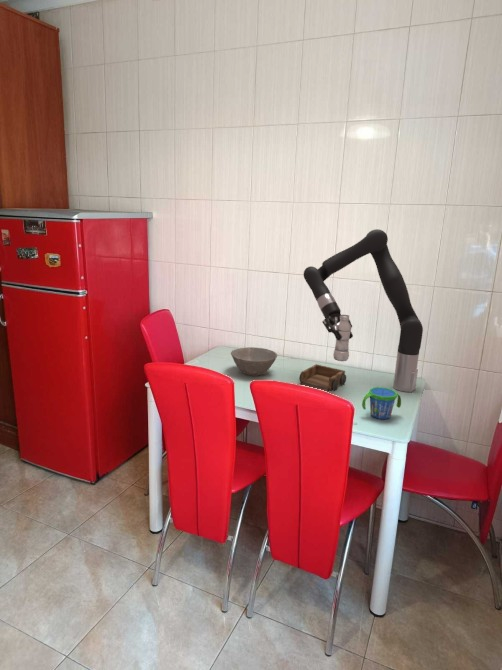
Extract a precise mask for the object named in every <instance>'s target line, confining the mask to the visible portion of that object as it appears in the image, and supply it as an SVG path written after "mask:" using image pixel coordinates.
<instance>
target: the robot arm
mask: <svg viewBox="0 0 502 670" xmlns="http://www.w3.org/2000/svg"><path fill="white" fill-rule="evenodd" d="M388 239H389V238H388V235H387V233H386V232H385V231H384V230H382V229H375V228H374V229H372V230H370V231H369V232H368V233H367V234H366V235H365V236H364V237H363V238H362V239H360V240H359V241H357V242H356V243H355V244H353V245H352V246H349V247H348V248H346V249H343V250H342V251H340V252H338V253H335V254H333V255H332V256H330V257H329V258H327V259H325V260H324V261H322V263H321V266H320V267H319V268H317V267H315V266H313V265H312V266H308V267H306V268H305V269H304V271H303V278H304V280H305V282H306V283H307V286H308V287H309V289H310V290H311V292H312V294H313V297H314V299H315V301H316V302H317V305H318V307H319V309H320V312H321V313H322V316H323V317H324V319H323V320H322V324H323V326H324V327H325V329H326V331H327V332H328V333H331V334H333V335H334V337H335V340H336V339H337V340H338V341H339V340H341V339H342V337H341V335H340V333H339V331H337V324H338V323H339V322H340V316H341V315H342V311H341V308H340V307H339V304H338V303H337V301H336V299H335V298H334V296H333V294H332V293H331V291H330V290H329V288H328V286H327V285H326V283H325V281H326V280H327V279H329V277H330V276H332V275H334V274H335V273H337V272H339V271H340V270H343V269H344V268H346V267H347V266H349V265H351V264H352V263H354V262H356V261H357V260H359V259H361V258H362V257H364V256H366V255H369V254H370V255H371V257H372V259H373V261H374V263H375V266H376V270H377V273H378V276H379V279H380V283H381V285H382V287H383V290H384V293H385V295H386V296H387V299H388V301H389V302H390V303H391V305H392V307H393V308H394V311H395V313H396V315H397V318H398V323H399V328H400V333H399V338H398V339H399V341H398V346H397V352H396V353H397V355H396V361H395V368H394V369H395V370H394V376H393V377H394V378H393V387H392V388H393V389H395V390H397V391H400V392H407V393H413V392H414V391H415V389H416V386H417V379H418V373H419V372H418V371H419V369H418V361H419V355H420V349H421V346H422V339H423V332H424V327H423V325H422V321H421V320H420V318H419V317H418V316H417V313H416V311H415V309H414V307H413V306H412V303H411V298H410V294H409V291H408V288H407V284H406V282H405V279H404V276H403V275H402V273H401V270H400V269H399V268H398V265H397V264H396V262H395V261H394V259H393V258H392V255H391V253H390V250H389V247H388V242H389V240H388ZM348 322H349V323H350V325H351V329H352V328H353V325H352V323H351V320H350V319H349V320H348ZM353 337H354V335H353V333H352V331H351V333H350V337H349V340H350V339H352V338H353Z"/></svg>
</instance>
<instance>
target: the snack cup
mask: <svg viewBox="0 0 502 670" xmlns="http://www.w3.org/2000/svg"><path fill="white" fill-rule="evenodd" d="M368 398H369V406H370V407H369V409H370V415H371V416H372V417H373V418H376V419H377V418H378V419H377V420H387V419H390V418H391V415H392V412H393V409H394V405H395V402H396V407H397V408H401V407H402V397H401V395H400V393H397V392H396V391H395V390H394V389H391V388H388V387H383V386H382V387H379V386H377V387H371V388H370V389H369V390H368V393H366V394H365V395H364V397H363V398H362V401H361V402H362V403H361V406H362V409H363V410H366V409H367V408H366V401H367V400H368ZM396 399H397V401H396Z"/></svg>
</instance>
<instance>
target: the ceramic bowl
mask: <svg viewBox="0 0 502 670" xmlns="http://www.w3.org/2000/svg"><path fill="white" fill-rule="evenodd" d="M230 355H231V357H232V360H233V361H234V364H235V365H236V367H237V368H238V370H239V371H240V372H242V374H245V375H247V376H252V377H255V376H261V375H264V374H265V373H267V372H268V371H269V369H270V368H271V367H272V365H273V364H274V363H275V361H276V359H277V358H278V354H277V353H276V352H275V351H273V350H270V349H268V348H265V347H264V348H262V347H254V346H253V347H250V346H249V347H241V348H236V349H232V351H230Z"/></svg>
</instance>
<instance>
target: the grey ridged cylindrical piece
mask: <svg viewBox="0 0 502 670" xmlns="http://www.w3.org/2000/svg"><path fill="white" fill-rule="evenodd" d="M348 320H350V315H349V314H341V316H340V322H339V323H338V324H337V331H339V333H340V335H341V337H342V339H341V340H339V341H338V340H337V339H336V338H335V344H334V345H335V346H334V350H333V355H332V356H333V359H334V360H335V361H338V362H347V361H348V360H349V357H350V351H349V348H350V347H349V343H350V339H349V337H350V333H351V332H352V328H351V325H350V323H349V322H348Z"/></svg>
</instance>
